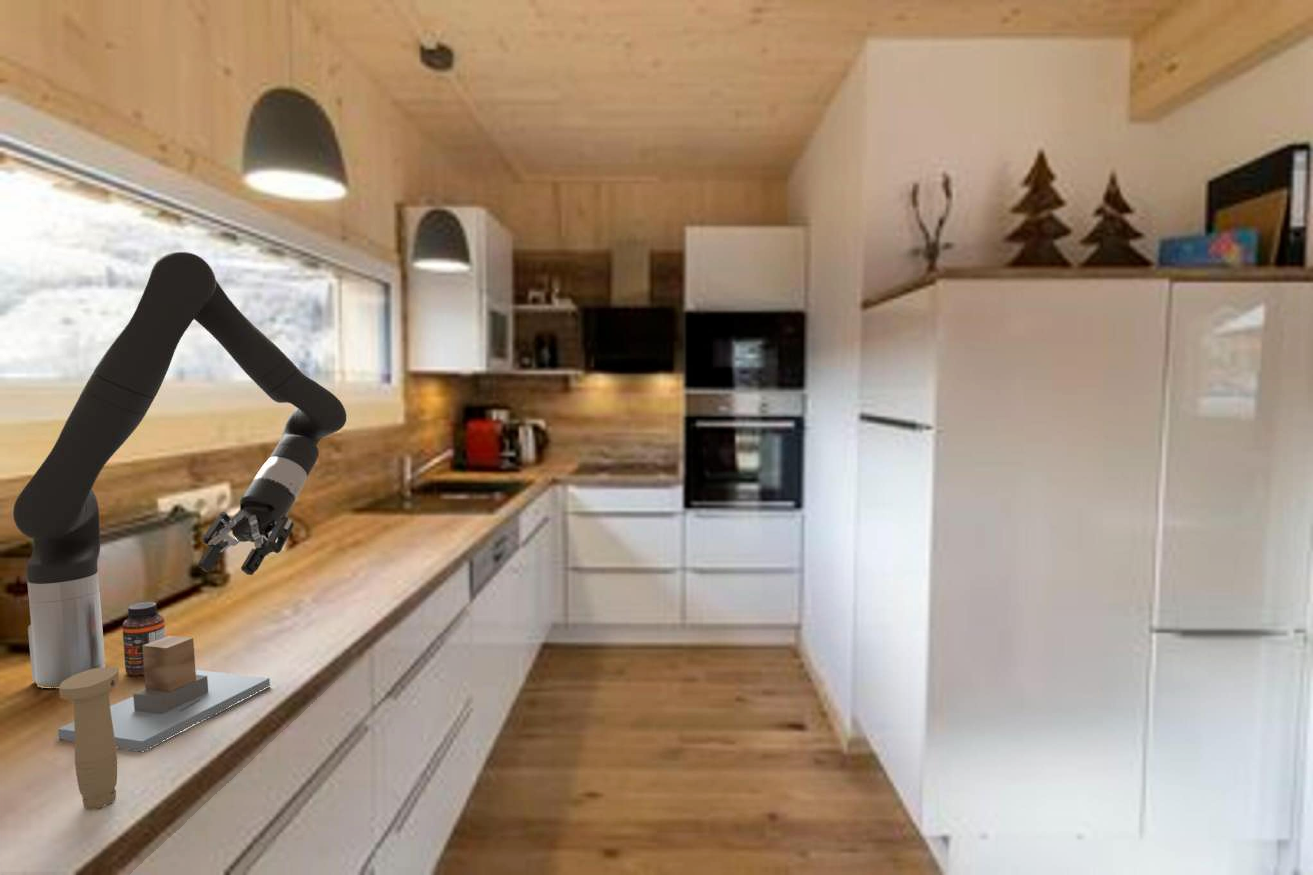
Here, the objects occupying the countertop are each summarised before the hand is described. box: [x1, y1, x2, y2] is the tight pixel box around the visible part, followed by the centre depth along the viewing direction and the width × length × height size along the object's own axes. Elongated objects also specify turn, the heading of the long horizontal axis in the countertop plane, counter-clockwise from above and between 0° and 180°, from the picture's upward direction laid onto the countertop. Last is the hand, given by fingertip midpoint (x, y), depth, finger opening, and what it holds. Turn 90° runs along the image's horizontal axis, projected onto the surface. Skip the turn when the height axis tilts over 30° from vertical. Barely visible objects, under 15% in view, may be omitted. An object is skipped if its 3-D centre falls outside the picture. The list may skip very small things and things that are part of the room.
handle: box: [58, 666, 120, 811], centre depth 89 cm, size 5×6×15 cm
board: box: [57, 669, 271, 752], centre depth 115 cm, size 15×22×2 cm
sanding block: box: [132, 635, 208, 714], centre depth 115 cm, size 5×8×9 cm, turn 164°
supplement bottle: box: [122, 601, 166, 677], centre depth 131 cm, size 6×6×11 cm
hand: (224, 570), depth 124 cm, fingers open, 8 cm apart
